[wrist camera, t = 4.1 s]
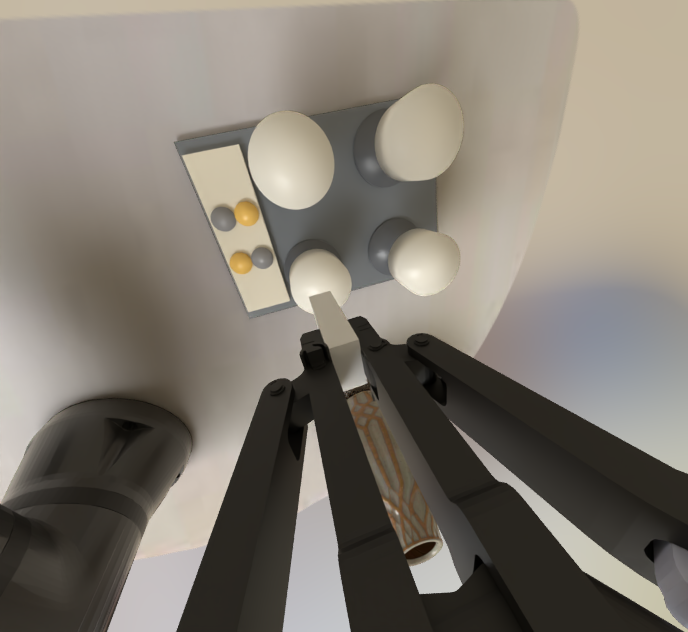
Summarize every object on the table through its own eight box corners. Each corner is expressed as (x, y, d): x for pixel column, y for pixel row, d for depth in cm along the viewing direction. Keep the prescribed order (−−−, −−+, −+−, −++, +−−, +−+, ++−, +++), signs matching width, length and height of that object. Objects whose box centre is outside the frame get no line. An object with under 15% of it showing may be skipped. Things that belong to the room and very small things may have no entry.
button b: (267, 211, 21) (265, 217, 17) (244, 136, 19) (233, 119, 14) (328, 197, 22) (341, 200, 17) (313, 122, 19) (324, 103, 15)
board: (250, 316, 28) (248, 322, 27) (176, 143, 20) (169, 140, 19) (434, 265, 30) (441, 269, 29) (430, 94, 23) (440, 88, 21)
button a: (296, 300, 27) (300, 321, 23) (281, 251, 25) (282, 265, 20) (343, 287, 28) (356, 305, 23) (333, 238, 25) (345, 249, 21)
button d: (371, 187, 22) (394, 187, 18) (361, 113, 20) (385, 91, 15) (426, 175, 23) (462, 171, 18) (424, 101, 20) (464, 76, 16)
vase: (313, 384, 34) (342, 543, 19) (405, 362, 36) (498, 490, 21) (326, 447, 40) (356, 607, 25) (404, 426, 42) (476, 561, 27)
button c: (383, 284, 26) (404, 302, 22) (376, 232, 24) (399, 242, 19) (430, 271, 27) (459, 287, 22) (428, 219, 24) (461, 226, 20)
